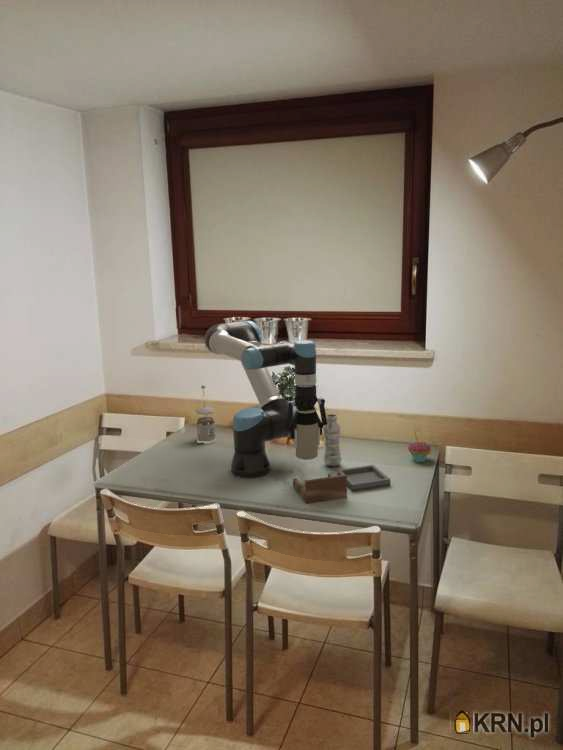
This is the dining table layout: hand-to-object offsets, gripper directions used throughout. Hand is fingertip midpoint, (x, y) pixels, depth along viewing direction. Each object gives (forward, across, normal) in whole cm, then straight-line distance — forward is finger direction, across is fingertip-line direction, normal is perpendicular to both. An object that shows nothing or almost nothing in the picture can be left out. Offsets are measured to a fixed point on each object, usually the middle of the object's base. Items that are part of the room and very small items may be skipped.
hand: (306, 445), depth 223 cm
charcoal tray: (+13, +18, -10) cm, 24 cm away
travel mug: (+4, 0, 0) cm, 4 cm away
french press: (+14, -28, +56) cm, 64 cm away
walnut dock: (+13, 0, -14) cm, 19 cm away
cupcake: (+13, +47, +2) cm, 48 cm away
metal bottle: (+13, +13, +8) cm, 20 cm away
